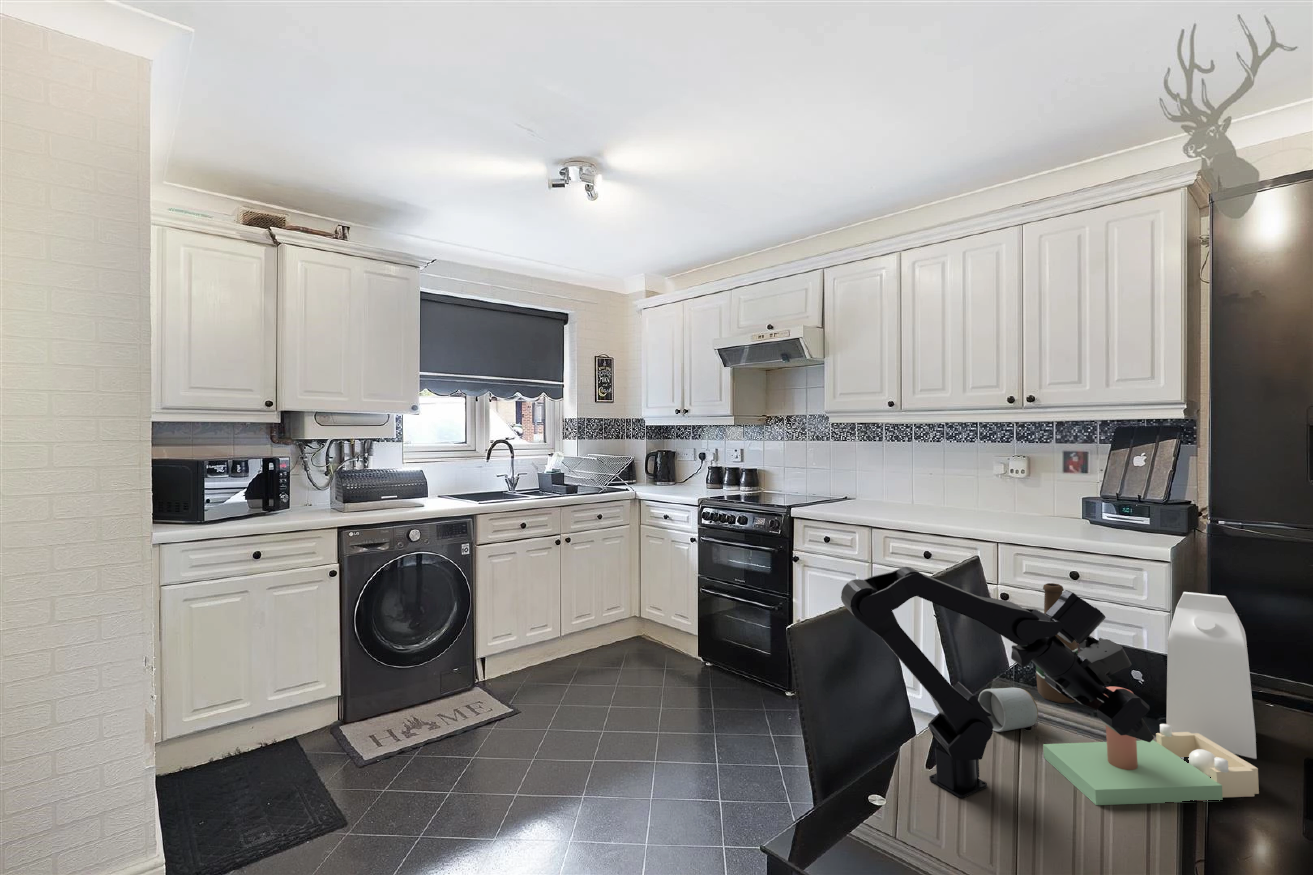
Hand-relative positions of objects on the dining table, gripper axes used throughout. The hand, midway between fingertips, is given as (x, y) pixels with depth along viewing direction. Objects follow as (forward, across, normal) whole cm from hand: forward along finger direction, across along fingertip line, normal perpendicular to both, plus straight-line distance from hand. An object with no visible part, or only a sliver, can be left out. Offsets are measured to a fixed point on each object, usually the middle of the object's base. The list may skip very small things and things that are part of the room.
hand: (1130, 725), depth 104 cm
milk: (+22, +12, -10) cm, 27 cm away
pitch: (+5, 0, +7) cm, 9 cm away
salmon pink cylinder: (+3, 0, +5) cm, 6 cm away
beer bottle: (+10, +31, +2) cm, 33 cm away
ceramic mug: (-2, +20, +14) cm, 24 cm away
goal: (+14, 0, -2) cm, 14 cm away
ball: (+13, 0, -4) cm, 13 cm away
